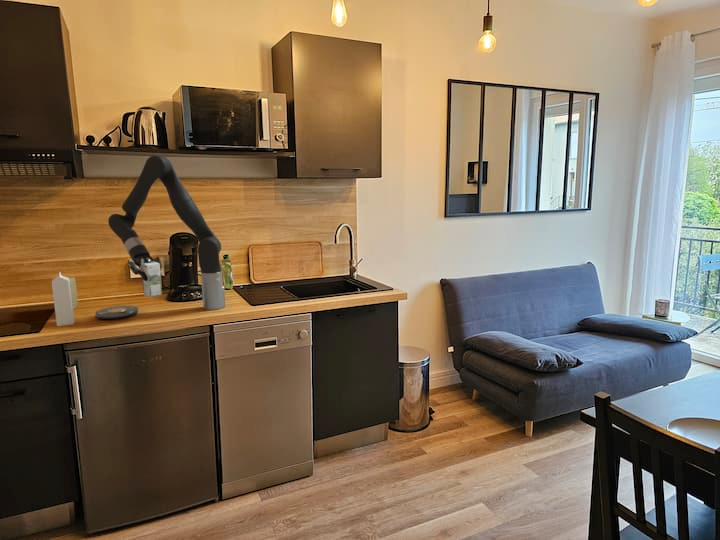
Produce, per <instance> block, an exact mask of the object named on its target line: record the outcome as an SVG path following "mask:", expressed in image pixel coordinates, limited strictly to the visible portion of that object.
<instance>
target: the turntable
mask: <svg viewBox="0 0 720 540" xmlns="http://www.w3.org/2000/svg"><path fill="white" fill-rule="evenodd" d="M138 313H139V307H138V306H136V305H116V306H114V305H113V306H108V307H105V308H100V309H98V310H96V311H95V317H96V318H97V319H99V320H100V319H102V320H106V319H115V318H123V317H127V318H129V317H128V316H130V317H132V316H134V315H137V314H138ZM123 319H124V318H123ZM115 320H116V319H115Z"/></svg>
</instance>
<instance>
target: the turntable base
mask: <svg viewBox="0 0 720 540" xmlns="http://www.w3.org/2000/svg"><path fill="white" fill-rule="evenodd" d="M130 317H131V316H128V317H123V318H115V319H105V320H108V321H112V320H114V321H116V320H121V319H126V318H130Z"/></svg>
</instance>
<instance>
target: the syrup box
mask: <svg viewBox="0 0 720 540" xmlns="http://www.w3.org/2000/svg"><path fill="white" fill-rule="evenodd" d="M142 267H143V270H144V271H143V272H145V273H146V275H147V277H148V280H147V281H145V280H143V279H142V278H141V282H142V289H143V290H142V291H143V296H144V297H147V298H153V297H160V296H163V289H162V277H161V274H160V271H161V270H160V264H159V263H157V262H150V263H143V264H142Z"/></svg>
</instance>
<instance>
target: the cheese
mask: <svg viewBox="0 0 720 540" xmlns="http://www.w3.org/2000/svg"><path fill="white" fill-rule="evenodd" d="M68 278H69V279H70V288H71V296H72V305H73V310H75V309H76V308H78V305H79V303H78V290H77V284H76V283H77V282H76V278H75V277H74V276H73V277H72V276H71V277H68ZM53 279H54V278H53ZM53 279H51V282H52V281H53Z"/></svg>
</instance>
